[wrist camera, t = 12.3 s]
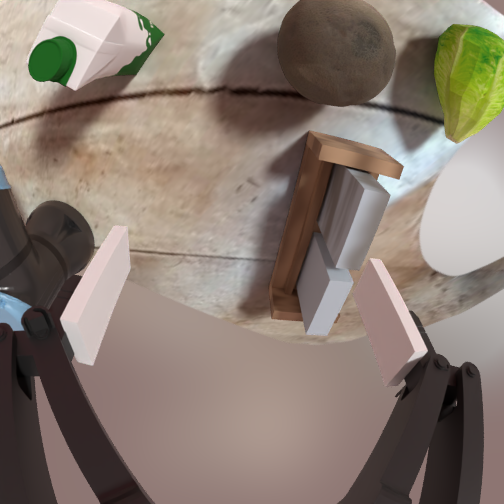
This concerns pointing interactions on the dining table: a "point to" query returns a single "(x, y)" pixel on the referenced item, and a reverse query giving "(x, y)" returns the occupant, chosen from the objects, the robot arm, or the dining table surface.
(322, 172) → the wooden slotted stand
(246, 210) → the dining table surface
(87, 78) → the milk carton
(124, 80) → the dining table surface
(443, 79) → the lettuce
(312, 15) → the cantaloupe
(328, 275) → the gray angular faceted block
